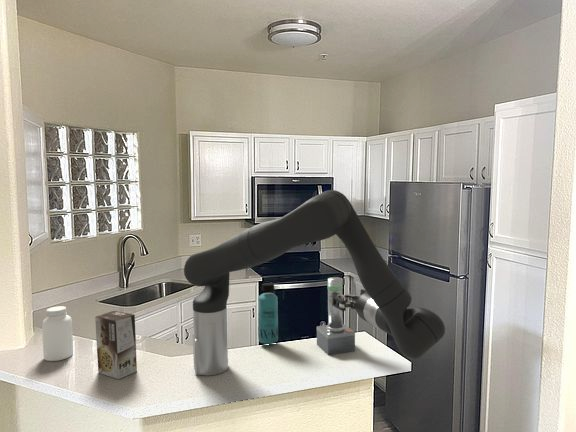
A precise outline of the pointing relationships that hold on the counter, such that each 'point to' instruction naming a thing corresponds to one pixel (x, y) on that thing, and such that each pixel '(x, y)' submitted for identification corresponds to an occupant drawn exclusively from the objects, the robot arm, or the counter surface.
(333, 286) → the clear glass cylinder
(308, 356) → the counter surface
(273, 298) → the beverage bottle
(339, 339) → the stand block
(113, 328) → the coffee box
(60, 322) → the pill bottle
